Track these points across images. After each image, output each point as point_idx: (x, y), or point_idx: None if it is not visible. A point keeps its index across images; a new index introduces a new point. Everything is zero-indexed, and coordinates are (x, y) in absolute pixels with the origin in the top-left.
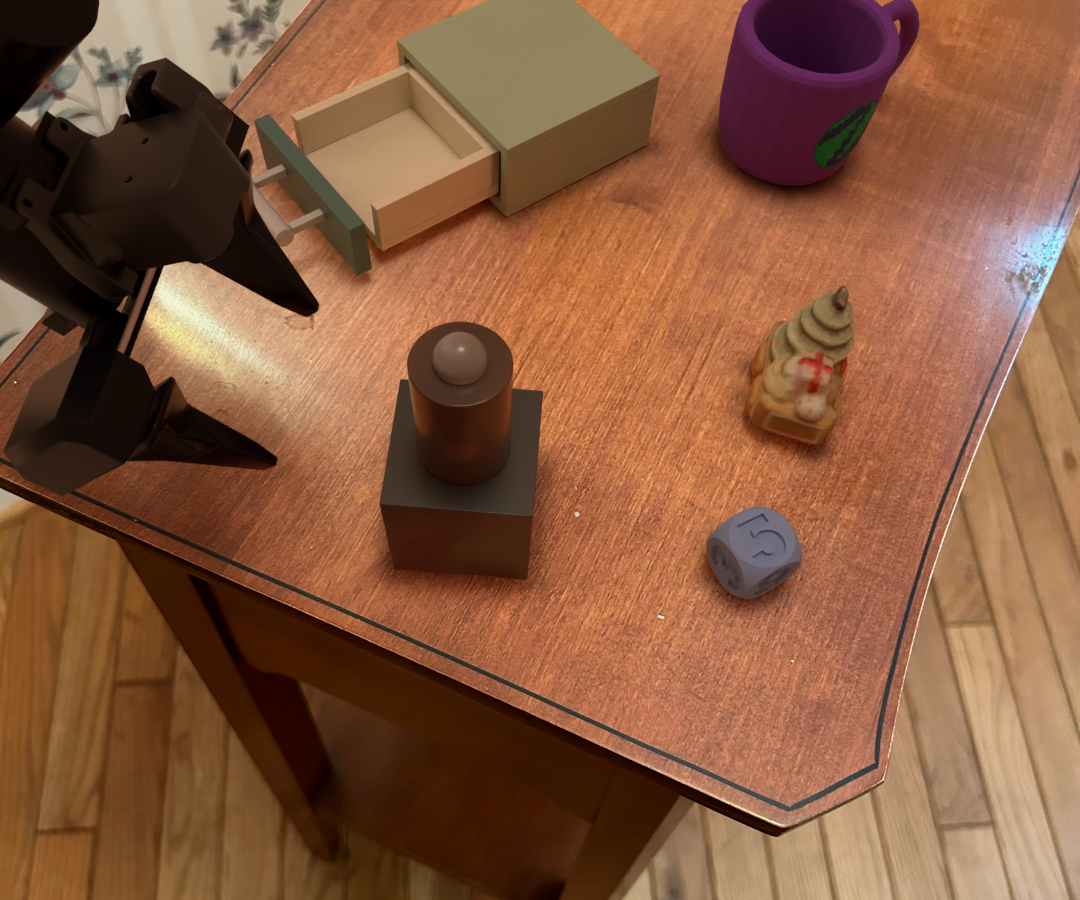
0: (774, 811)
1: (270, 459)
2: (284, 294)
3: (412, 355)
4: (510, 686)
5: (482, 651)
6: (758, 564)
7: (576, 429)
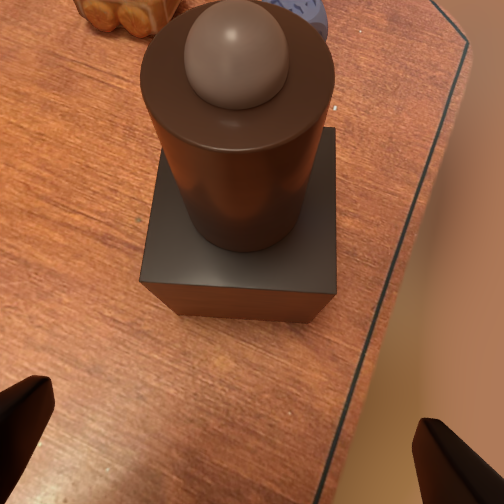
0: (471, 49)
1: (445, 430)
2: (4, 455)
3: (220, 144)
4: (411, 216)
5: (382, 239)
6: (318, 7)
7: (154, 164)
